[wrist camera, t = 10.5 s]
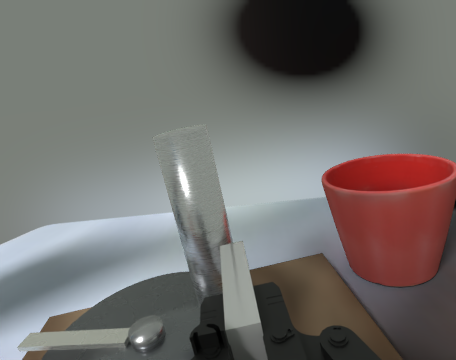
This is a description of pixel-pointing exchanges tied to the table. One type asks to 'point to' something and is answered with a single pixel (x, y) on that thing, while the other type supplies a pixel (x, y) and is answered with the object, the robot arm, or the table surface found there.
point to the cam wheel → (165, 284)
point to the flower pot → (392, 214)
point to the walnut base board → (295, 304)
